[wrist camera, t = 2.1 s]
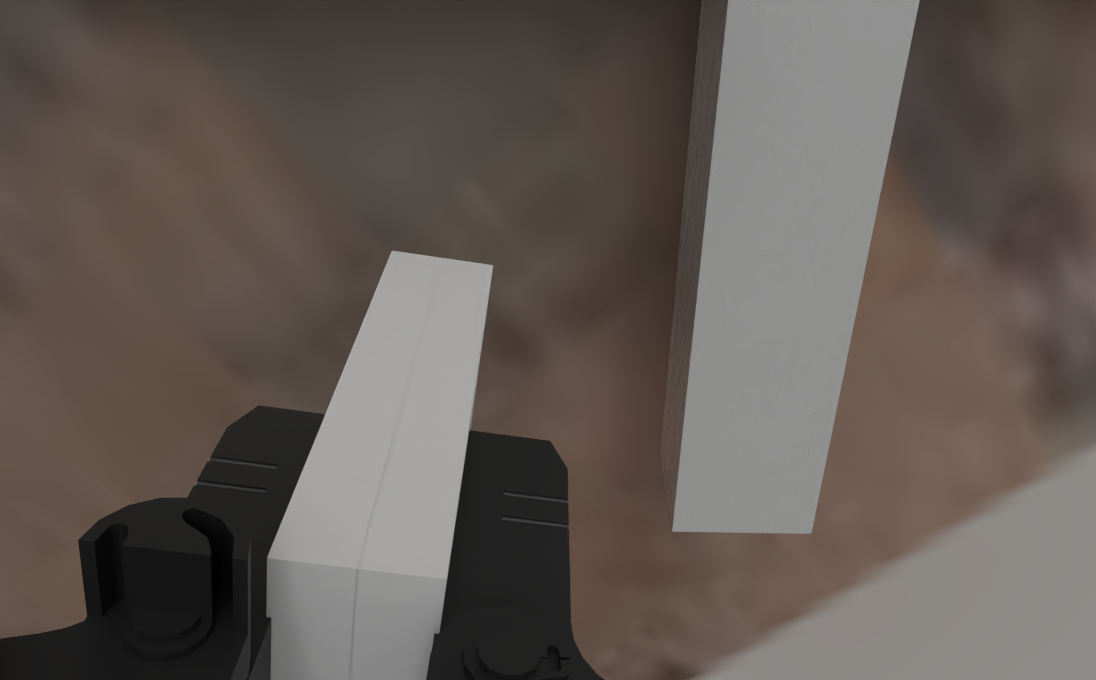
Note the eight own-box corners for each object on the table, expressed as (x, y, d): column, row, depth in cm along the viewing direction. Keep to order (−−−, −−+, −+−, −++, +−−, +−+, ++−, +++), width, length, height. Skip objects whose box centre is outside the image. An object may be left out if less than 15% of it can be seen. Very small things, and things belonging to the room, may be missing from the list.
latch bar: (688, -494, 13) (720, -571, 10) (1004, -488, 13) (1112, -566, 10) (624, 454, 20) (633, 537, 18) (818, 456, 20) (854, 541, 18)
